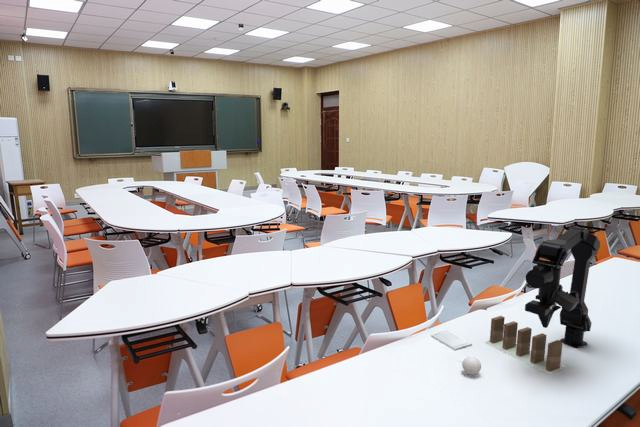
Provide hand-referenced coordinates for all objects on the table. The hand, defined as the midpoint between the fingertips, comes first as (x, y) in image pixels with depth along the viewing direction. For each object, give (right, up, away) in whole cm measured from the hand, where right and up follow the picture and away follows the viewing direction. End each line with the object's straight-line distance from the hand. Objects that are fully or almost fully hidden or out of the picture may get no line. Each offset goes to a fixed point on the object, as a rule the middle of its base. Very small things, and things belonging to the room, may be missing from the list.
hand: (545, 327), depth 145 cm
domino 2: (-6, -10, +13) cm, 18 cm away
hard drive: (-25, -11, +18) cm, 33 cm away
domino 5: (+2, -13, -1) cm, 13 cm away
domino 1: (-9, -10, +18) cm, 22 cm away
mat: (-4, -12, +8) cm, 15 cm away
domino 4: (-1, -12, +4) cm, 13 cm away
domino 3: (-4, -11, +8) cm, 14 cm away
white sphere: (-26, -14, -3) cm, 29 cm away
